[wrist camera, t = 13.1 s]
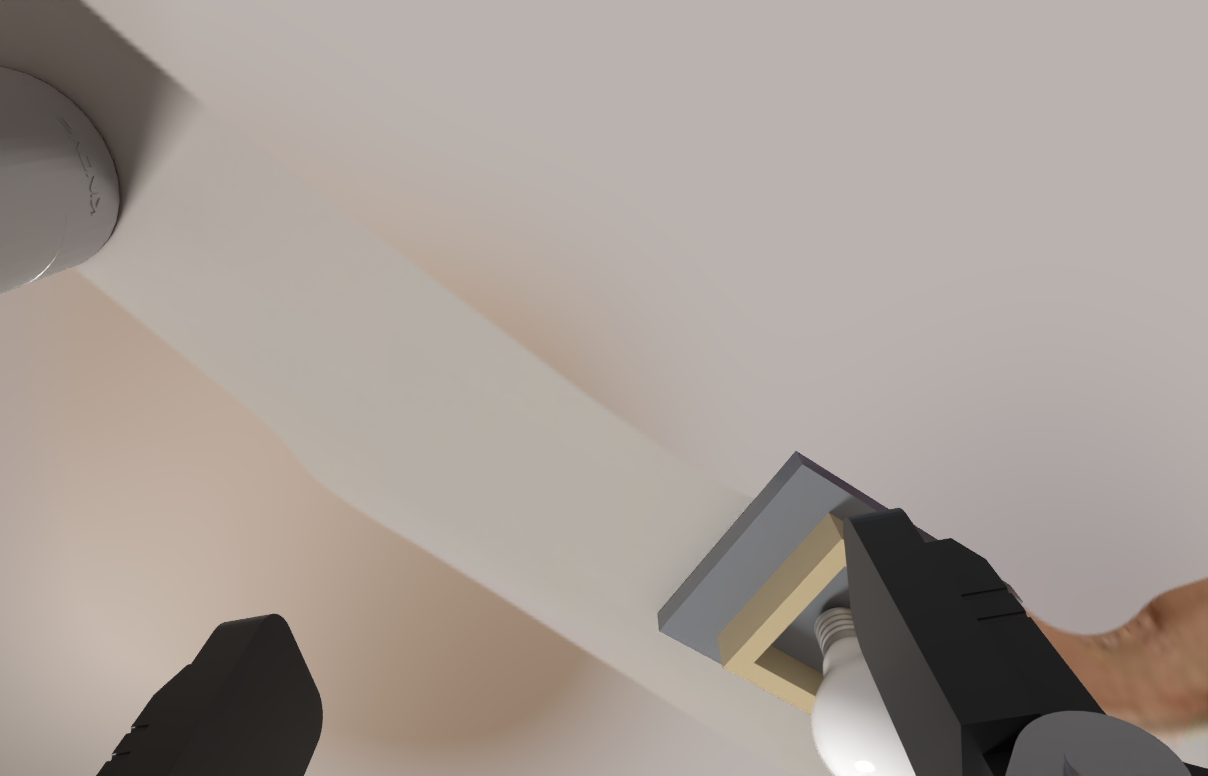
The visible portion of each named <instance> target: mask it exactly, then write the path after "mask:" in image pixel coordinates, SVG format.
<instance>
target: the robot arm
mask: <svg viewBox="0 0 1208 776" xmlns="http://www.w3.org/2000/svg"><path fill="white" fill-rule="evenodd" d="M119 203H120V202H119V184H118V178H117V175H116V171H115V167H114V163H113V160H112V158H111V156H110V153H109V151H108V149H107V147H106V145H105V143H104V141H103V139H102V137H101V136H100V134H99V133H98V132H97V130H96V129H95V127H94V126H93V124H92V123H91V122H90V120H89V119H88V118H87V117H86V116H85V114H84V113H83V112H82V111H81V110H80V109H79V108H78V107H77V106H76V105H75V104H74V103H73V102H72V101H71V100H70V99H68V98H67V97H65V96H64V95H63V94H61V93H60V92H59V91H57V90H56V89H55V88H53V87H52V86H50V85H49V84H47V83H45V82H43V81H41V80H39V79H37V78H35V77H33V76H31V75H29V74H26V73H22V72H19V71H15V70H12V69H8V68H4V67H0V294H2V293H5V292H7V291H10V290H13V289H16V288H19V287H21V286H24V285H26V284H29V283H32V282H34V281H37V280H39V279H42V278H44V277H47V276H49V275H52V274H55V273H57V272H60V271H62V270H65V269H67V268H70V267H73V266H75V265H78V264H80V263H83V262H84V261H86V260H87V259H89V258H90V257H91V256H93V255H94V254H96V253H97V252H98V251H99V250H100V249H101V247H102V246H103V245H104V244H105V242H106V241H107V240H108V239H109V237H110V235H111V232H112V230H113V228H114V226H115V223H116V220H117V214H118V209H119ZM843 535H844V546H845V556H846V566H847V576H848V586H849V596H850V606H851V613H852V619H853V624H854V628H855V632H856V636H857V639H858V643H859V646H860V649H861V651H862V654H863V656H864V659H865V661H866V663H867V666H868V668H869V670H870V672H871V675H872V677H873V679H874V682H875V684H876V686H877V688H878V691H879V693H880V695H881V697H882V700H883V702H884V704H885V707H886V709H887V711H888V713H889V716H890V718H891V720H892V723H893V725H894V727H895V729H896V732H897V734H898V736H899V738H900V741H901V743H902V745H903V748H904V750H905V752H906V754H907V757H908V759H909V761H910V763H911V766H912V768H913V770H914V773H915V775H916V776H1208V769H1207V768H1203V767H1199V766H1195V765H1191V764H1188V763H1185V762H1182V761H1181V759H1180V758H1179V757H1178V756H1177V755H1176V754H1175V753H1174V752H1173V751H1172V750H1171V749H1170V748H1169V747H1168V746H1167V745H1165V744H1164V743H1163V742H1161V741H1160V740H1159V739H1157V738H1156V737H1155V736H1153V735H1151V734H1150V733H1148V732H1146V731H1145V730H1143V729H1141V728H1139V727H1137V726H1135V725H1133V724H1131V723H1129V722H1126V721H1123V720H1121V719H1118V718H1115V717H1112V716H1108V715H1106V714H1105V712H1104V711H1103V710H1102V709H1101V708H1100V706H1099V705H1098V704H1097V703H1096V701H1095V700H1094V699H1093V697H1092V696H1091V695H1090V693H1089V692H1088V691H1087V690H1086V688H1085V687H1084V686H1083V684H1082V683H1081V682H1080V681H1079V679H1078V678H1077V677H1076V675H1075V674H1074V673H1073V671H1072V670H1071V669H1070V668H1069V666H1068V665H1067V664H1066V662H1065V661H1064V660H1063V659H1062V657H1061V656H1060V655H1059V653H1058V652H1057V651H1056V649H1055V648H1054V647H1053V646H1052V644H1051V643H1050V642H1049V640H1048V639H1047V638H1046V637H1045V635H1044V634H1043V633H1042V631H1041V630H1040V629H1039V627H1038V626H1037V625H1036V624H1035V622H1034V621H1033V620H1032V618H1031V617H1027V615H1026V611H1025V609H1024V608H1023V607H1022V606H1021V604H1020V603H1019V602H1018V600H1017V599H1016V598H1015V596H1014V595H1013V594H1012V593H1009V592H1008V589H1007V586H1006V585H1005V584H1004V582H1003V581H1002V580H1001V579H1000V577H999V576H998V575H997V573H996V572H995V571H994V569H993V568H992V567H991V565H990V564H989V563H988V562H987V560H986V559H985V558H983V557H981V556H980V555H978V554H976V553H975V552H973V551H971V550H970V549H968V548H966V547H965V546H963V545H962V544H960V543H958V542H957V541H955V540H953V539H951V538H949V539H943V540H937V541H931V542H925V541H924V540H923V538H922V537H921V535H920V534H919V532H918V531H917V529H916V528H915V526H914V525H913V523H912V522H911V520H910V519H909V517H908V516H907V514H906V513H905V512H904V511H903V510H902V509H901V508H895V509H890V510H884V511H878V512H872V513H866V514H860V515H855V516H849V517H845V518H844V520H843ZM322 720H323V710H322V702H321V698H320V694H319V692H318V689H317V687H316V685H315V683H314V680H313V678H312V676H311V674H310V672H309V669H308V667H307V665H306V663H305V661H304V659H303V656H302V654H301V652H300V650H299V647H298V645H297V643H296V641H295V639H294V636H293V634H292V632H291V630H290V628H289V626H288V624H287V622H286V621H285V619H284V618H283V617H281V616H280V615H278V614H270V615H264V616H258V617H252V618H246V619H240V620H235V621H229V622H224V623H222V624H220V625H219V626H218V627H217V628H216V629H215V630H214V631H213V633H212V634H211V636H210V637H209V639H208V640H207V642H206V643H205V645H204V646H203V647H202V649H201V651H200V652H199V653H198V655H197V656H196V658H195V659H194V661H193V662H192V664H189V665H187V666H186V667H184V668H183V669H182V670H181V671H180V672H179V673H178V674H177V675H176V676H174V677H173V678H172V679H171V680H170V681H169V682H168V683H167V684H166V685H164V686H163V687H162V688H161V689H160V690H159V691H158V692H157V693H155V695H153V697H152V698H151V700H150V701H149V702H148V704H147V705H146V707H145V708H144V710H143V711H142V712H141V714H140V715H139V717H138V718H137V719H136V721H135V722H134V724H133V725H132V726H131V733H128V734H126V735H125V736H124V738H123V739H122V740H121V742H120V743H119V745H118V746H117V747H116V749H115V750H114V752H113V753H112V760H111V761H107V762H106V763H105V764H104V766H103V767H102V769H101V770H100V771H99V773H98V774H97V775H96V776H304V774H305V772H306V769H307V767H308V765H309V762H310V760H311V758H312V755H313V753H314V750H315V748H316V746H317V743H318V741H319V738H320V734H321V729H322Z"/></svg>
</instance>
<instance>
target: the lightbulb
mask: <svg viewBox="0 0 1208 776" xmlns="http://www.w3.org/2000/svg"><path fill="white" fill-rule="evenodd" d="M814 632H815V635H816V638H817V640H818V643H819V646H820V649H821V651H822V654H823V657H824V660H823V677H824V679H823V681H822V682H821V684H820V686H819V688H818V690H817V693H816V695H815V698H814V702H813V706H812V713H811V727H812V734H813V739H814V743H815V746H816V749H817V751H818V753H819V755H820V757H821V759H822V761H823V763H824V764H825V766H826V767H827V769H828V770H829V771H830V773H831V774H832V775H833V776H916V775H915V773H914V770H913V768H912V766H911V763H910V761H909V759H908V757H907V754H906V752H905V750H904V748H903V745H902V743H901V741H900V738H899V736H898V734H897V732H896V729H895V727H894V725H893V723H892V720H891V718H890V716H889V713H888V711H887V709H886V707H885V704H884V702H883V700H882V697H881V695H880V693H879V691H878V688H877V686H876V684H875V682H874V679H873V677H872V675H871V672H870V670H869V668H868V666H867V663H866V661H865V659H864V656H863V654H862V651H861V649H860V646H859V643H858V639H857V636H856V632H855V628H854V624H853V619H852V613H851V609H849V608H845V607H836V608H832V609H829V610H827V611H825V612H823V613H822V614H821V615H820V616H819V617H818V618H817V620H816V622H815V625H814Z"/></svg>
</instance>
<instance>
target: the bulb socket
mask: <svg viewBox="0 0 1208 776" xmlns="http://www.w3.org/2000/svg"><path fill="white" fill-rule="evenodd" d="M884 510H889V509H888V508H886V507H884V506H883V505H881V504H879V503H878V502H876V501H875V500H873V499H872V498H870V497H869V496H867V495H865V494H864V493H862V492H861V491H859V490H857V489H856V488H854V487H853V486H851V485H849V484H848V483H846V482H845V481H843V480H841V479H840V478H838V477H837V476H835V475H833V474H831V473H830V472H829V471H827V470H825V469H824V468H822V467H821V466H819V465H817V464H816V463H814V462H813V461H811V460H810V459H808V458H806V457H805V456H803V455H802V454H800V453H798V452H797V451H795V453H794V454H793V455H792V456H791V457H790V459H789V460H788V461H787V462H786V463H785V465H784V466H783V467H782V468H781V469H780V470H779V472H778V473H777V474H776V475H775V476H774V477H773V478H772V480H771V481H770V482H769V483H768V484H767V486H766V487H765V488H764V489H763V490H762V491H761V493H760V494H759V495H758V496H757V497H756V498H755V500H754V501H753V502H752V503H751V504H750V506H749V507H748V508H747V509H746V510H745V511H744V513H743V514H742V515H741V516H740V517H739V518H738V520H737V521H736V522H735V523H734V524H733V526H732V527H731V528H730V529H729V530H728V531H727V533H726V534H725V535H724V536H723V537H722V538H721V540H720V541H719V542H718V543H717V544H716V546H715V547H714V548H713V549H712V550H711V551H710V553H709V554H708V555H707V556H706V557H705V558H704V560H703V561H702V562H701V563H700V564H699V566H698V567H697V568H696V569H695V570H694V571H693V573H692V574H691V575H690V576H689V577H688V578H687V580H686V581H685V582H684V583H683V584H682V586H681V587H680V588H679V589H678V590H677V591H676V593H675V594H674V595H673V596H672V597H671V598H670V600H669V601H668V602H667V603H666V604H665V606H664V607H663V608H662V609H661V610H660V611H659V613H658V624H659V631H660V632H662V633H664V634H666V635H668V636H670V637H671V638H673V639H675V640H677V641H679V642H681V643H683V644H684V645H686V646H688V647H690V648H692V649H694V650H696V651H698V652H699V653H701V654H703V655H705V656H707V657H709V658H711V659H712V660H714V661H716V662H718V663H720V664H722V666H723V668H724V669H726V670H728V671H730V672H732V673H734V674H735V675H737V676H739V677H741V678H743V679H745V680H747V681H749V682H750V683H752V684H754V685H756V686H758V687H760V688H762V689H763V690H765V691H767V692H769V693H771V694H773V695H775V696H777V697H778V698H780V699H782V700H784V701H786V702H788V703H790V704H791V705H793V706H795V707H797V708H799V709H801V710H803V711H805V712H806V713H808V714H810V715H811V713H812V706H813V702H814V698H815V695H816V693H817V690H818V688H819V686H820V684H821V682H822V681H823V679H824V677H823V660H824V657H823V654H822V651H821V649H820V646H819V643H818V640H817V638H816V635H815V632H814V625H815V622H816V620H817V618H818V617H819V616H820V615H821V614H822V613H823V612H825V611H827V610H829V609H832V608H836V607H845V608H849V609H851V606H850V596H849V586H848V576H847V566H846V556H845V546H844V535H843V520H844V518H845V517H849V516H855V515H860V514H866V513H872V512H878V511H884ZM914 526H915V525H914ZM915 528H916V529H917V531H918V532H919V534H920V535H921V537H922V538H923V540H924V541H925V542H931V541H937V539H935V538H934V537H932V536H931V535H929V534H928V533H926V532H924V531H923V530H921V529H920V528H917V527H916V526H915ZM1003 582H1004V581H1003ZM1004 584H1005V585H1006V586H1007V589H1008V592H1009V593H1012V594H1013V595H1014V596H1015V598H1016V599H1017V600H1018V602H1019V603H1020V604H1021V603H1022V602H1023V601H1022V600H1021V599H1020V597H1019V596H1018V595H1017V593H1016V592H1015V591H1014V590H1013V588H1012V587H1011V586H1010V585H1009V584H1007V583H1006V582H1004Z"/></svg>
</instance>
